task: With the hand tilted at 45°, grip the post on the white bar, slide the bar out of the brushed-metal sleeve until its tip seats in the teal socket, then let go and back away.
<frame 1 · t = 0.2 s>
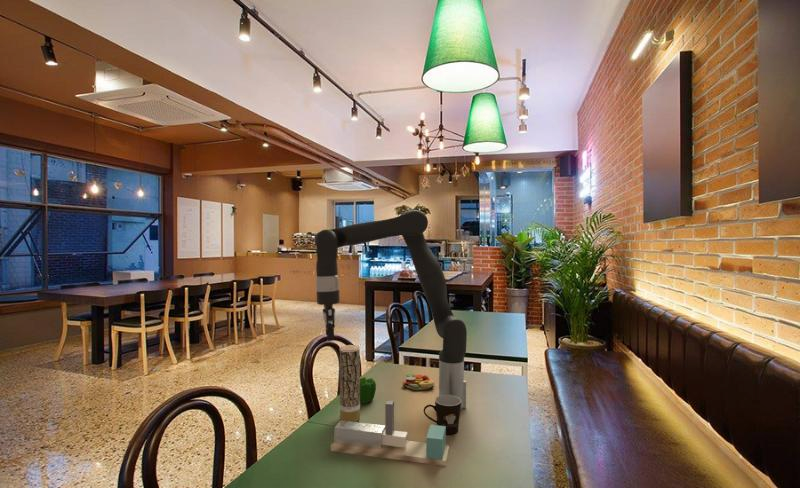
hand: (330, 337, 132), 29 cm above the table, tool pointing down, fingers open, 8 cm apart
track board: (389, 450, 116), on the table
paper tube: (350, 420, 135), on the table
bell pepper: (364, 401, 151), on the table
teal socket: (436, 441, 112), on the track board, point 4 cm above the table
white bar: (375, 421, 117), point 8 cm above the table, slide at 0.0 cm
toy food set: (418, 386, 167), on the table
coffee mug: (443, 430, 128), on the table
metal sleeve: (360, 434, 118), on the track board, point 4 cm above the table
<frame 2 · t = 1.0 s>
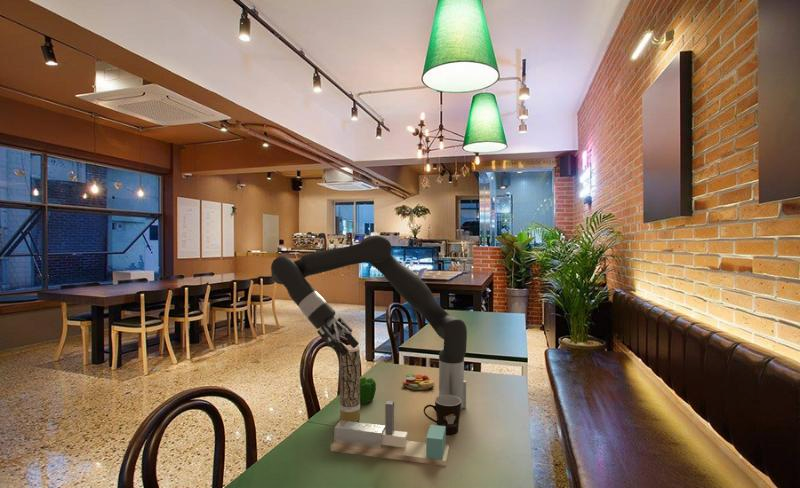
hand: (351, 349, 118), 29 cm above the table, tool tilted 45°, fingers open, 8 cm apart
nothing on the table moved.
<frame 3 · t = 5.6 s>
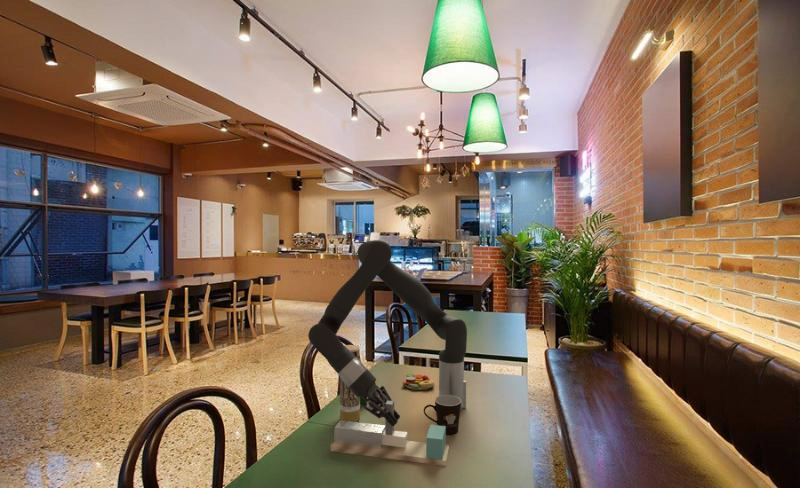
hand: (396, 421, 115), 9 cm above the table, tool tilted 45°, fingers closed on white bar, 2 cm apart
white bar: (375, 421, 117), point 8 cm above the table, slide at 0.0 cm, touching gripper
everything else where it was.
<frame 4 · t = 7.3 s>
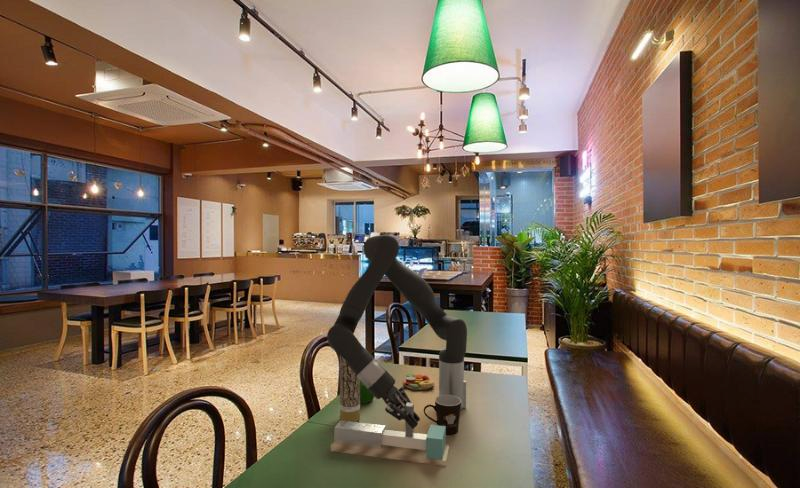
hand: (416, 423, 114), 9 cm above the table, tool tilted 45°, fingers closed on white bar, 2 cm apart
white bar: (394, 423, 115), point 8 cm above the table, slide at 6.0 cm, touching gripper
everything else where it was.
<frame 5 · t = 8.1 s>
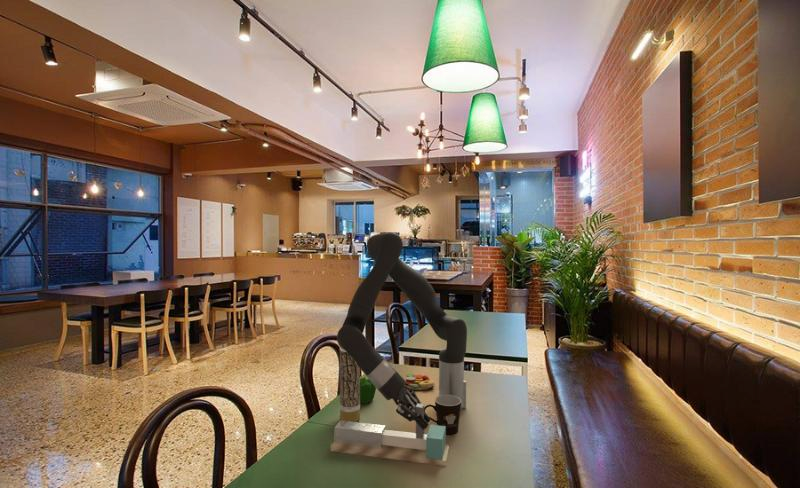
hand: (427, 424, 113), 9 cm above the table, tool tilted 45°, fingers closed on white bar, 2 cm apart
white bar: (404, 424, 114), point 8 cm above the table, slide at 9.1 cm, touching gripper
everything else where it was.
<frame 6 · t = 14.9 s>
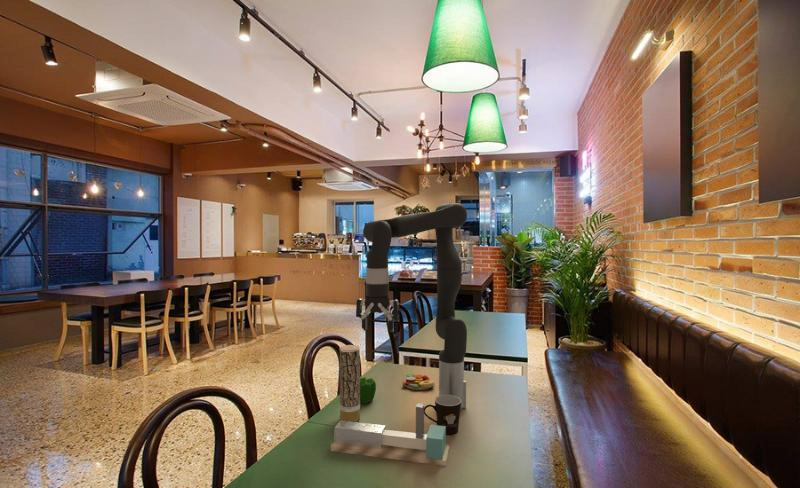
hand: (377, 330, 129), 32 cm above the table, tool pointing down, fingers open, 8 cm apart
white bar: (404, 424, 114), point 8 cm above the table, slide at 9.0 cm
everything else where it was.
at the end: white bar slide at 9.0 cm; the gripper is holding nothing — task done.
